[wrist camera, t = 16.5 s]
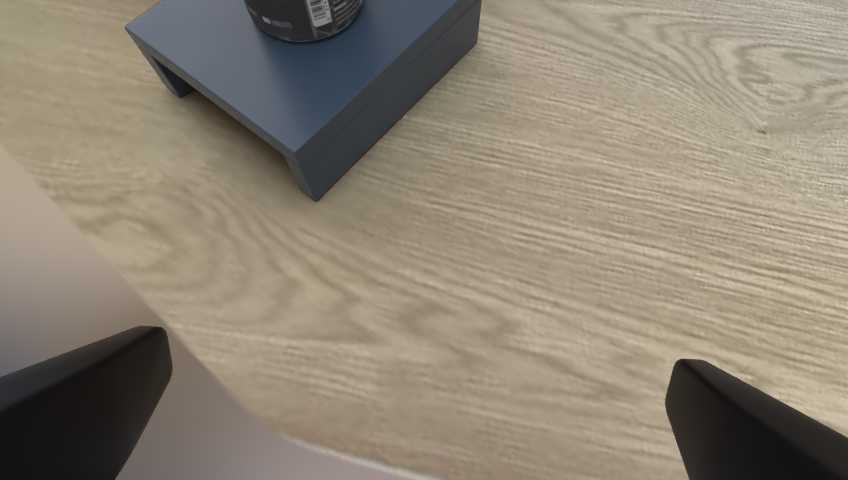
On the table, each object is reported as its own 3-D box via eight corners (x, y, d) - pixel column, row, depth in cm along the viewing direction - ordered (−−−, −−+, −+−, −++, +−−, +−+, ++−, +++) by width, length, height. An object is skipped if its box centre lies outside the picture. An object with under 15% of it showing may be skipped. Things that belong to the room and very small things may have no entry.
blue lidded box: (316, 202, 25) (294, 153, 21) (167, 88, 28) (122, 26, 24) (477, 42, 30) (485, -25, 26) (332, -41, 33) (318, -113, 29)
